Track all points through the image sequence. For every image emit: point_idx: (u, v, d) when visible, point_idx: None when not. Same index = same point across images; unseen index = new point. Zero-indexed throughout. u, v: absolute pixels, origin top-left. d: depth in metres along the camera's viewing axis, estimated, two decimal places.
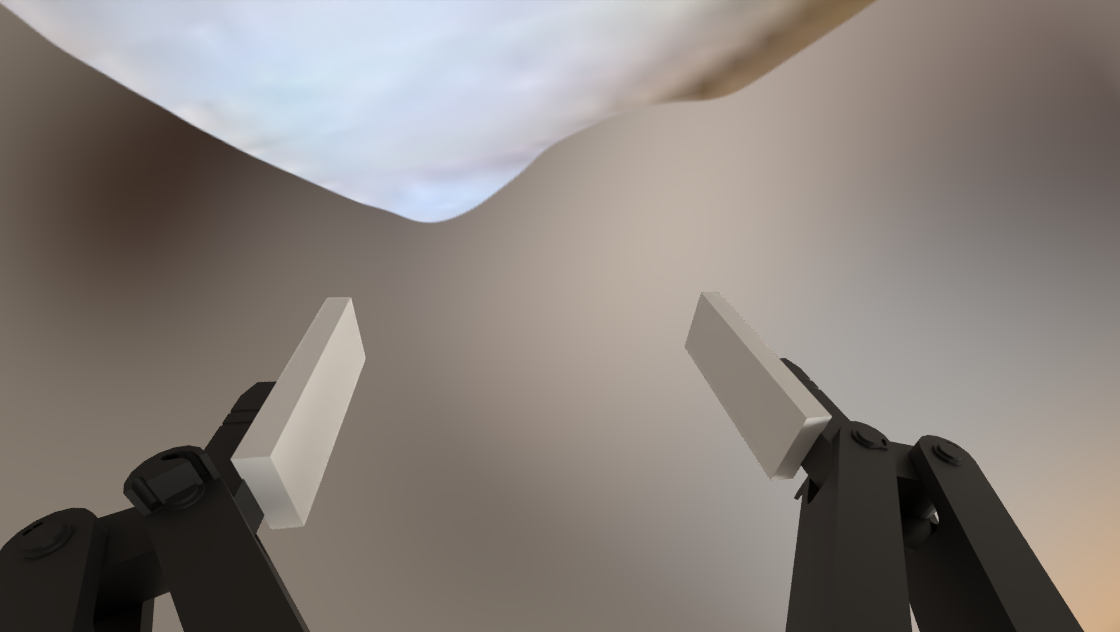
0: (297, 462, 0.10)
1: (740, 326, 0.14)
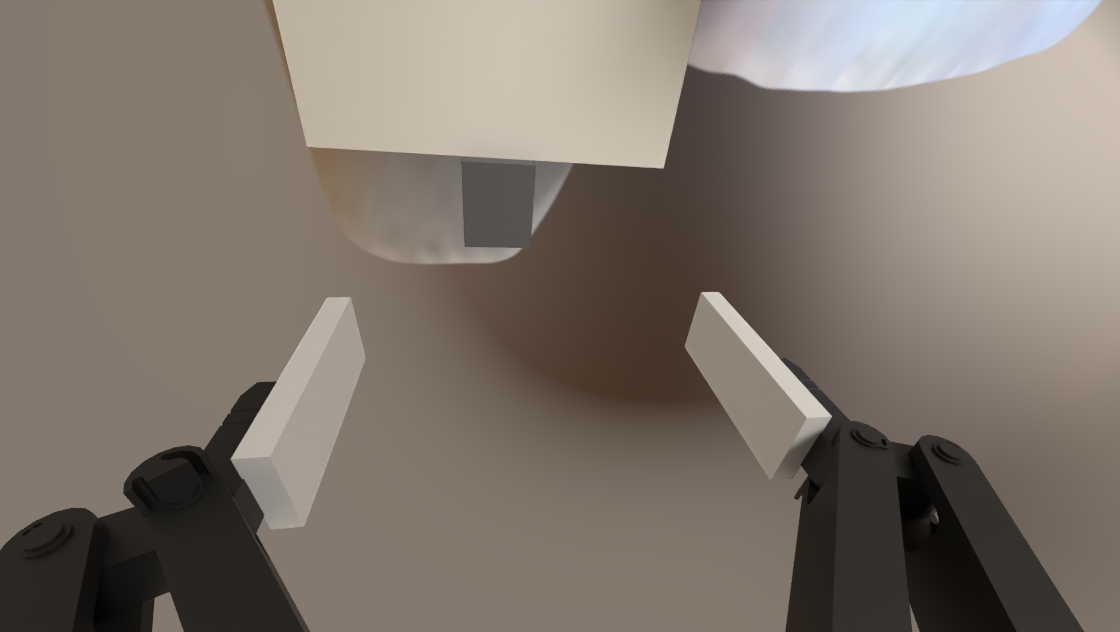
0: (297, 462, 0.10)
1: (740, 326, 0.14)
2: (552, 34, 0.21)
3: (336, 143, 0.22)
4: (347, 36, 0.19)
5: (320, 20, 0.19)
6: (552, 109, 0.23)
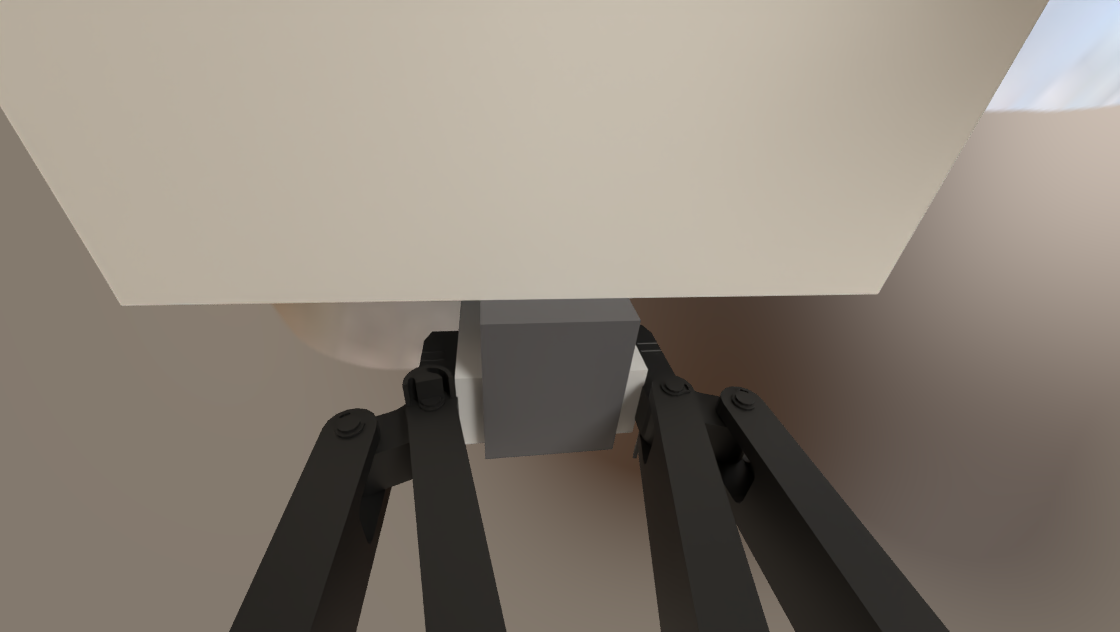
0: None
1: None
2: (710, 30, 0.08)
3: (191, 294, 0.09)
4: (165, 49, 0.07)
5: (74, 5, 0.07)
6: (682, 200, 0.10)
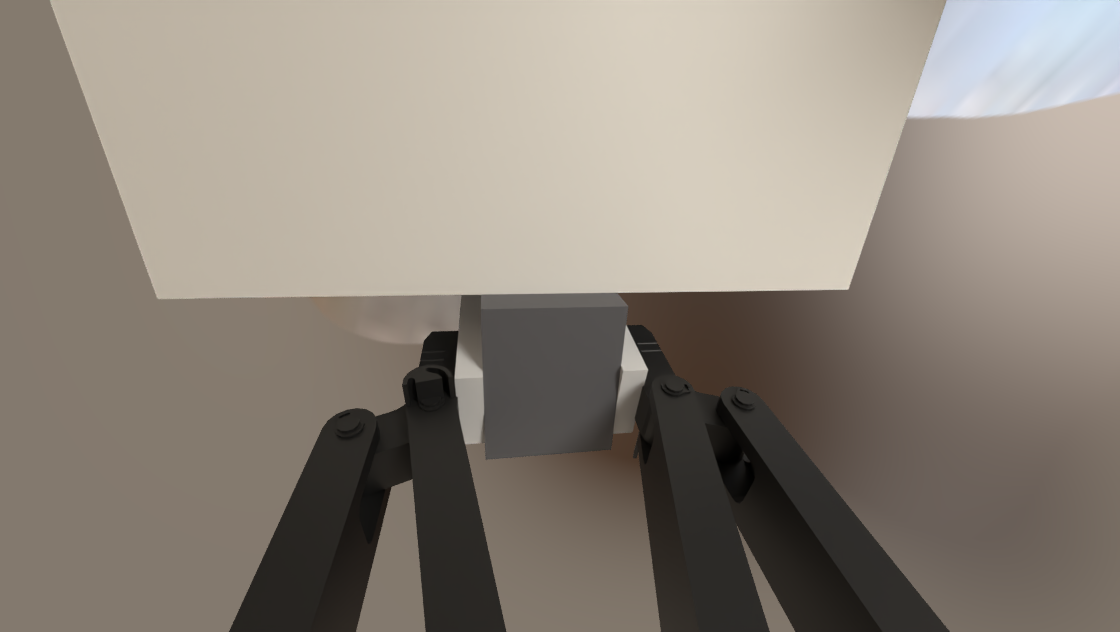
0: None
1: None
2: (665, 57, 0.10)
3: (221, 288, 0.11)
4: (232, 74, 0.09)
5: (167, 41, 0.08)
6: (657, 199, 0.11)
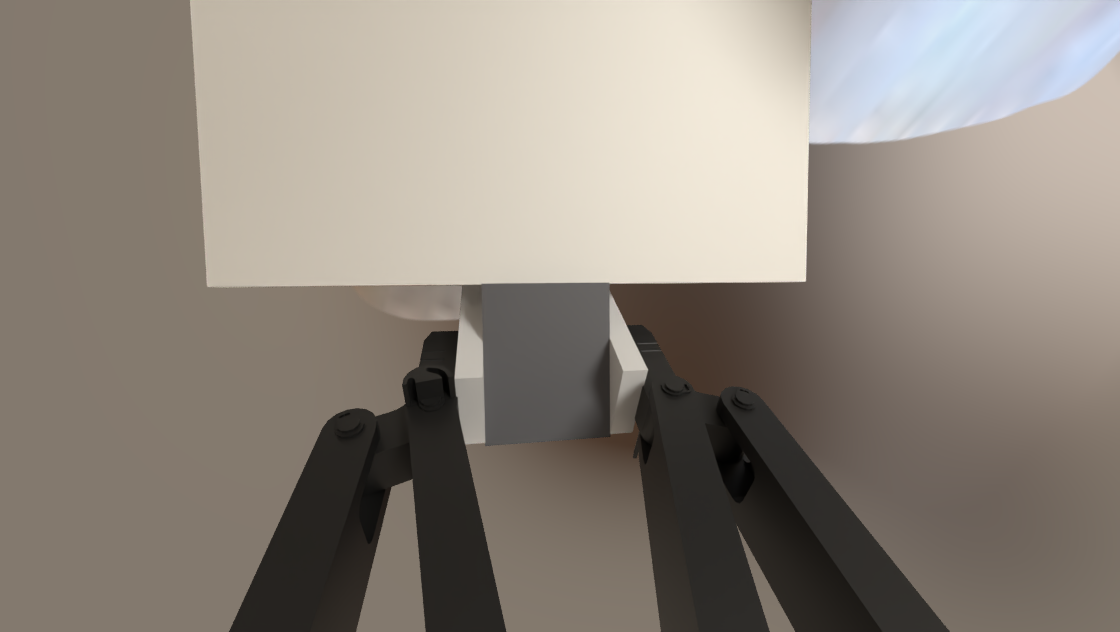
0: None
1: None
2: (616, 102, 0.14)
3: (262, 277, 0.12)
4: (306, 115, 0.12)
5: (266, 95, 0.12)
6: (624, 203, 0.14)
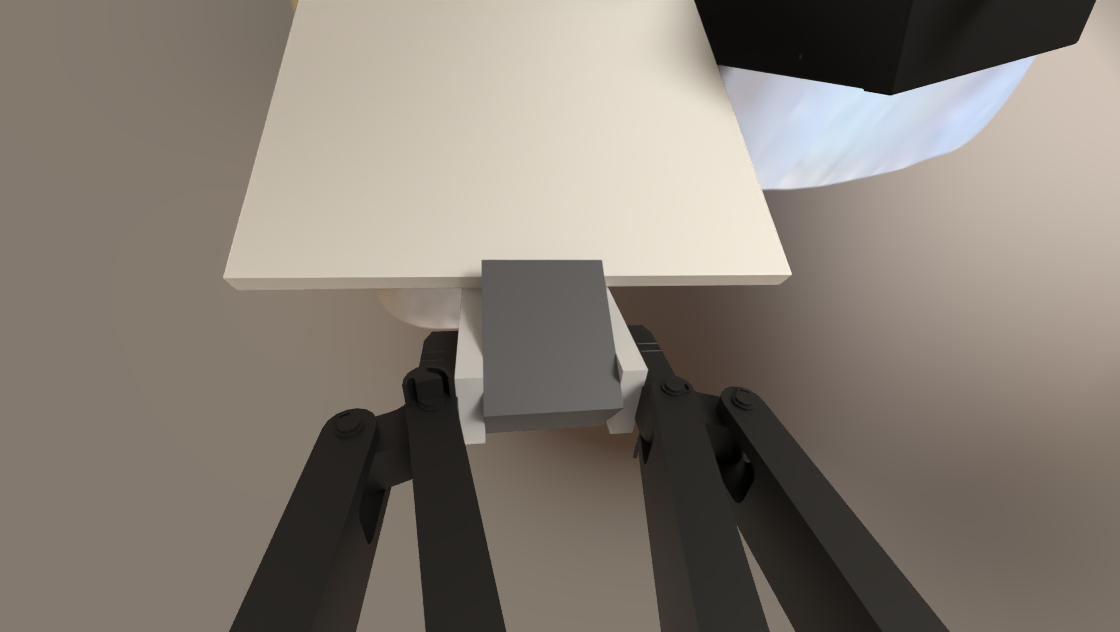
0: None
1: None
2: (591, 150, 0.17)
3: (277, 271, 0.13)
4: (342, 158, 0.15)
5: (313, 146, 0.15)
6: (608, 214, 0.16)
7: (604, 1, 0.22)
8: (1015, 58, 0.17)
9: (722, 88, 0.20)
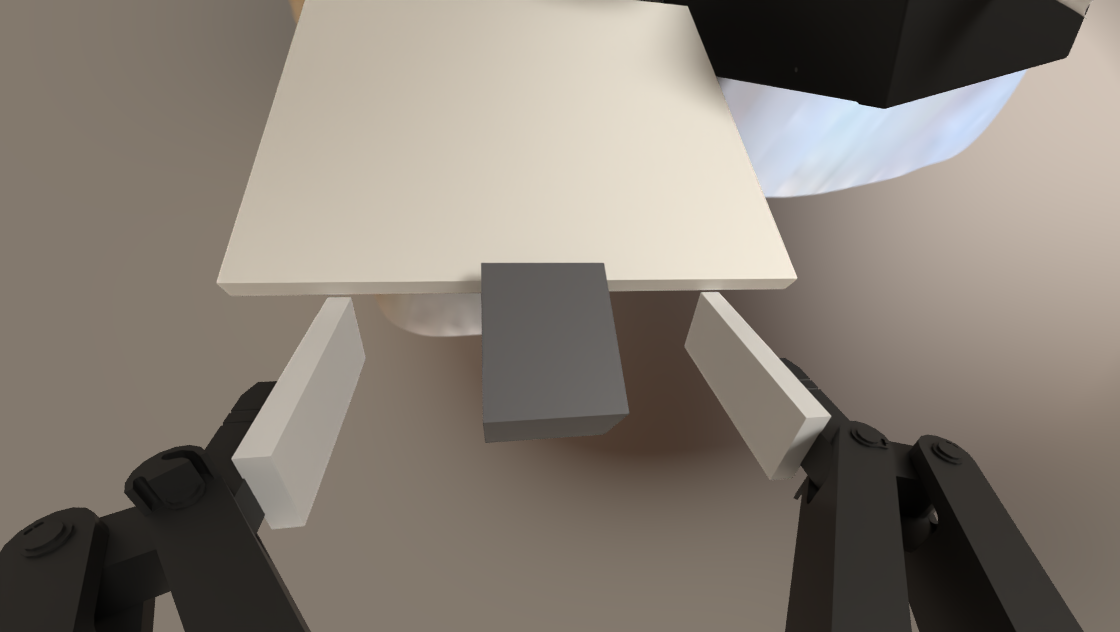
0: (298, 462, 0.10)
1: (740, 326, 0.14)
2: (591, 155, 0.17)
3: (271, 276, 0.13)
4: (341, 164, 0.15)
5: (312, 153, 0.15)
6: (609, 219, 0.16)
7: (602, 14, 0.22)
8: (1006, 72, 0.17)
9: (721, 96, 0.21)
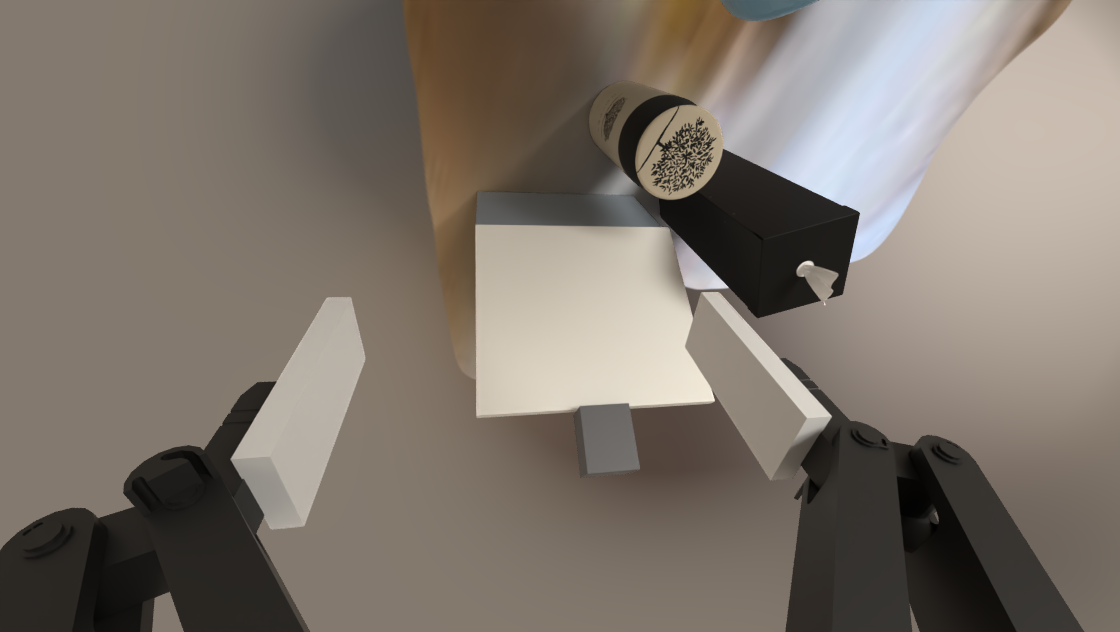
0: (297, 462, 0.10)
1: (740, 326, 0.14)
2: (620, 338, 0.37)
3: (495, 411, 0.32)
4: (511, 352, 0.35)
5: (498, 347, 0.35)
6: (629, 374, 0.35)
7: (622, 240, 0.42)
8: None
9: (685, 293, 0.40)
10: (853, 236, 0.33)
